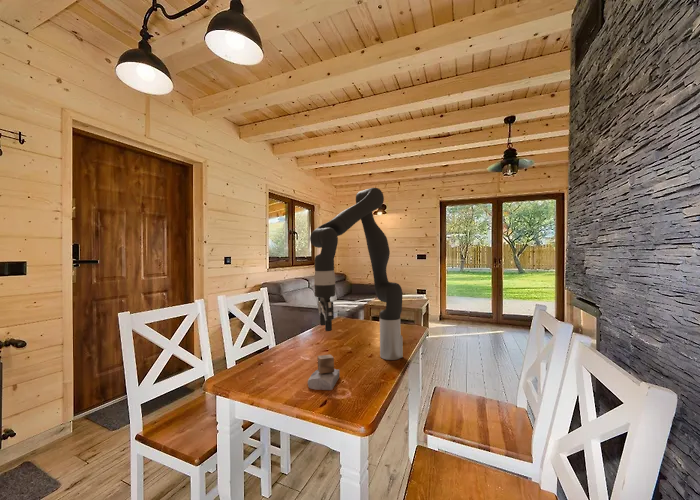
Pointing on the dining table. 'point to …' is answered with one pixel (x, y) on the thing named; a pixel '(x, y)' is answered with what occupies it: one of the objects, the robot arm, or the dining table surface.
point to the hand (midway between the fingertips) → (325, 327)
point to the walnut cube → (325, 364)
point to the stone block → (323, 380)
